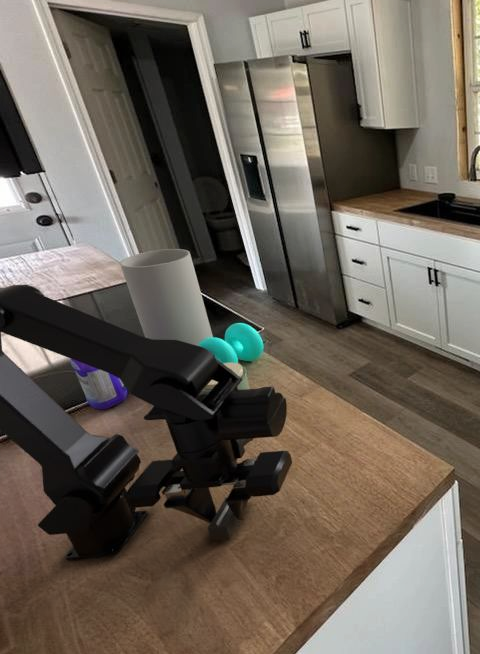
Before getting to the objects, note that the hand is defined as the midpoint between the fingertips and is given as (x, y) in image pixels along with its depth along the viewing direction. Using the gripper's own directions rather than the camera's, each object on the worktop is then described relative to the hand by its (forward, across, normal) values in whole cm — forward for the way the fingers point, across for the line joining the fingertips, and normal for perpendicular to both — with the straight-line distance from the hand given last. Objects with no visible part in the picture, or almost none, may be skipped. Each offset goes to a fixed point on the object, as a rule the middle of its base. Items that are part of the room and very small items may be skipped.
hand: (228, 519), depth 61 cm
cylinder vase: (+1, +34, -51) cm, 61 cm away
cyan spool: (+1, +18, -42) cm, 46 cm away
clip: (+1, 0, 0) cm, 1 cm away
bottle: (+1, +38, -32) cm, 50 cm away
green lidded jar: (+1, +13, -28) cm, 31 cm away
